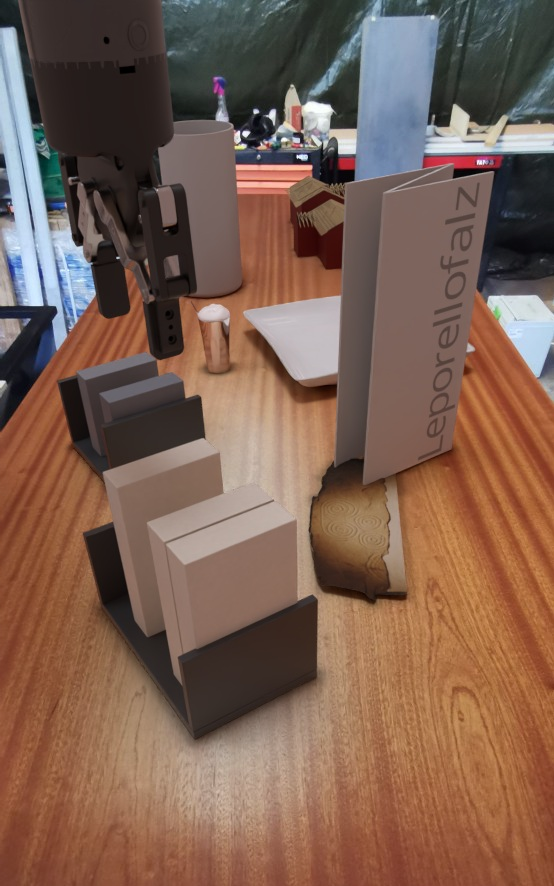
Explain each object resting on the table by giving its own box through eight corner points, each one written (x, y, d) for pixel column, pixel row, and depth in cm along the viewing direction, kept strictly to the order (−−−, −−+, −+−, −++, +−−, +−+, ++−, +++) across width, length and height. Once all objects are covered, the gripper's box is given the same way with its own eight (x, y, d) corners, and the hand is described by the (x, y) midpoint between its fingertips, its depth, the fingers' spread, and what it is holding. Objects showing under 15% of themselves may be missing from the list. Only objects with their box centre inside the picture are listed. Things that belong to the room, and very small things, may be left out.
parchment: (407, 601, 70) (408, 594, 69) (304, 596, 70) (304, 589, 70) (395, 466, 88) (396, 459, 88) (313, 463, 89) (314, 456, 88)
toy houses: (278, 221, 165) (276, 170, 158) (367, 214, 167) (370, 163, 160) (316, 291, 132) (317, 230, 125) (427, 282, 134) (433, 221, 127)
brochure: (364, 486, 84) (385, 193, 65) (333, 467, 88) (344, 183, 68) (451, 449, 91) (494, 171, 71) (419, 432, 94) (452, 163, 75)
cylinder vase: (166, 297, 132) (145, 135, 115) (184, 274, 141) (168, 119, 124) (234, 300, 130) (223, 135, 113) (248, 276, 139) (240, 120, 122)
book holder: (194, 740, 59) (167, 578, 48) (101, 607, 71) (61, 453, 60) (317, 676, 64) (319, 515, 52) (210, 562, 76) (192, 411, 64)
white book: (147, 638, 66) (116, 488, 55) (134, 620, 68) (102, 471, 57) (233, 599, 70) (220, 451, 59) (218, 583, 72) (203, 437, 61)
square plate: (475, 373, 106) (479, 347, 103) (295, 405, 100) (295, 378, 98) (396, 307, 125) (398, 283, 123) (242, 331, 120) (240, 306, 117)
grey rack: (117, 497, 85) (99, 410, 77) (72, 446, 94) (52, 364, 86) (208, 465, 90) (199, 380, 82) (157, 419, 98) (145, 339, 91)
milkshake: (199, 362, 111) (192, 294, 105) (234, 362, 111) (230, 294, 104) (196, 375, 108) (188, 306, 101) (232, 375, 108) (227, 306, 101)
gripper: (-9, 42, 44) (53, 315, 55) (81, 65, 35) (134, 386, 46) (109, 32, 47) (145, 293, 58) (220, 51, 38) (238, 356, 49)
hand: (140, 334), depth 52 cm, fingers open, 8 cm apart
